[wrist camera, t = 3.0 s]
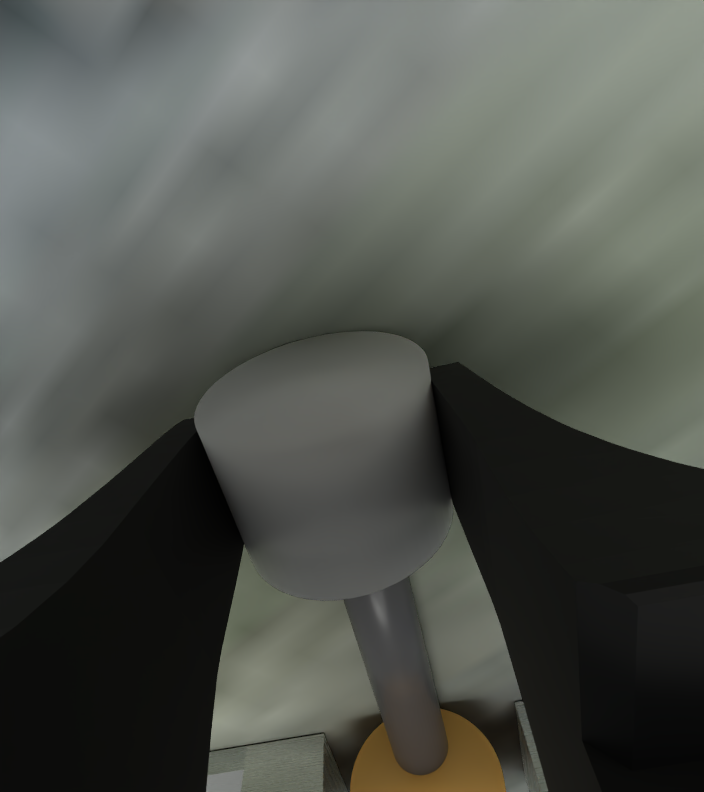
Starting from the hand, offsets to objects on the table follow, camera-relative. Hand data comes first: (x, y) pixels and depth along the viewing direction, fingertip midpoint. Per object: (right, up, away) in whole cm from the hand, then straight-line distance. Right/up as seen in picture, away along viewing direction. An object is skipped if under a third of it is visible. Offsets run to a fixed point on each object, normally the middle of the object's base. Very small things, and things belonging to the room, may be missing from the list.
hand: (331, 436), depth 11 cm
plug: (+1, -5, +4) cm, 7 cm away
